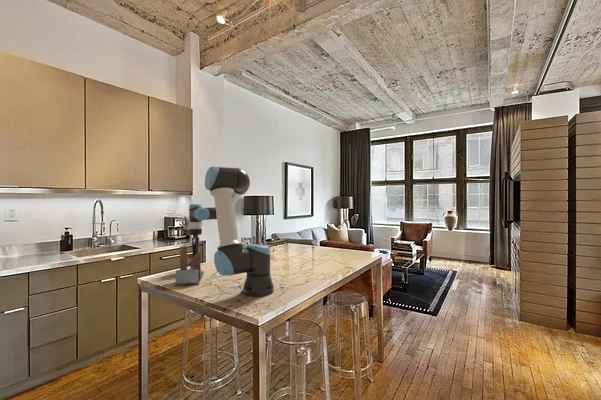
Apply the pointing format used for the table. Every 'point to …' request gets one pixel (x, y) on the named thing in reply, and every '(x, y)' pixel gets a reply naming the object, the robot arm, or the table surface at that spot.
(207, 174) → the robot arm
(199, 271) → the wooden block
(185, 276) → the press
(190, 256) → the ram
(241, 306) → the table surface
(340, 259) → the table surface
